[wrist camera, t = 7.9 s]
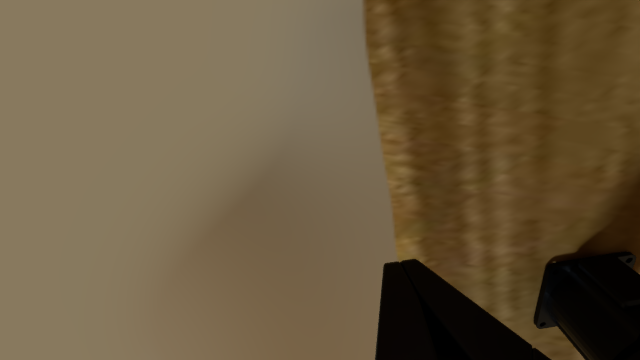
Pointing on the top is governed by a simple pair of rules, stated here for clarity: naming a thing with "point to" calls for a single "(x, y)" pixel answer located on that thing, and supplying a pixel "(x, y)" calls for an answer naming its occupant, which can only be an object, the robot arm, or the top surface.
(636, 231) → the top surface
